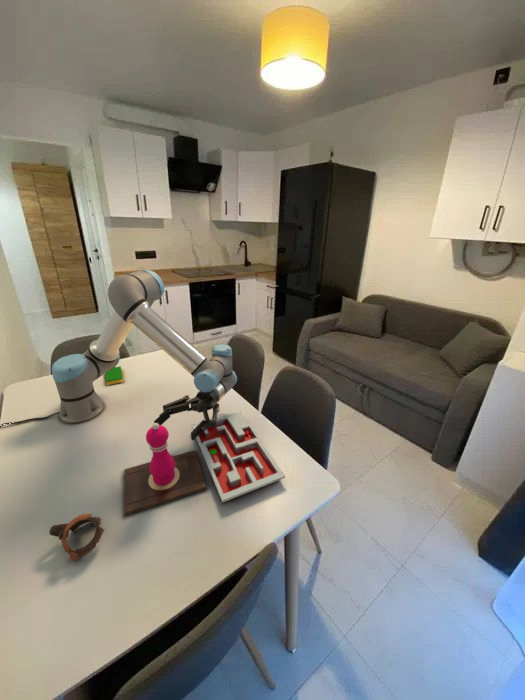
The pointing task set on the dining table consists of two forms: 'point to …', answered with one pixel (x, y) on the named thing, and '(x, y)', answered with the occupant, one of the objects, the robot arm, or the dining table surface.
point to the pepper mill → (160, 455)
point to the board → (149, 494)
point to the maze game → (236, 457)
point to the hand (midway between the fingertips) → (173, 430)
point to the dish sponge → (114, 376)
